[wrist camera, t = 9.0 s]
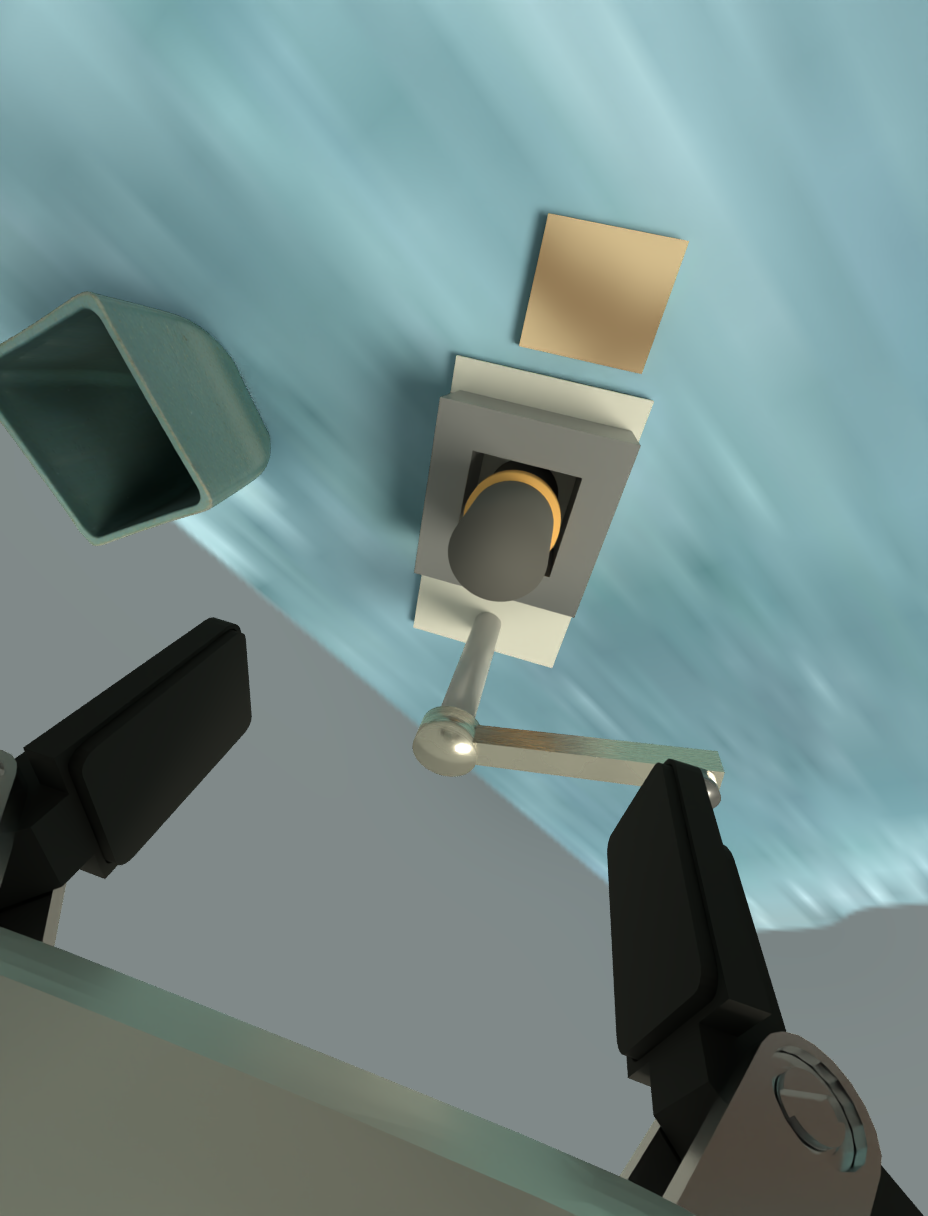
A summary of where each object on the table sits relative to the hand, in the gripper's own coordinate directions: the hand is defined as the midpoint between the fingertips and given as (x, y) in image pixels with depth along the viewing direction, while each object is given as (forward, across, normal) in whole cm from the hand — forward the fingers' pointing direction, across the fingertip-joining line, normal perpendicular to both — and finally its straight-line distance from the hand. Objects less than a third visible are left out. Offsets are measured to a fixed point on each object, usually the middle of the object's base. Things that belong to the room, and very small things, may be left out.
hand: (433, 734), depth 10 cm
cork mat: (+19, -1, -10) cm, 21 cm away
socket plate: (+19, 0, +2) cm, 19 cm away
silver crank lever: (+9, -5, +7) cm, 12 cm away
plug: (+18, 0, 0) cm, 18 cm away
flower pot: (+19, +19, 0) cm, 27 cm away
